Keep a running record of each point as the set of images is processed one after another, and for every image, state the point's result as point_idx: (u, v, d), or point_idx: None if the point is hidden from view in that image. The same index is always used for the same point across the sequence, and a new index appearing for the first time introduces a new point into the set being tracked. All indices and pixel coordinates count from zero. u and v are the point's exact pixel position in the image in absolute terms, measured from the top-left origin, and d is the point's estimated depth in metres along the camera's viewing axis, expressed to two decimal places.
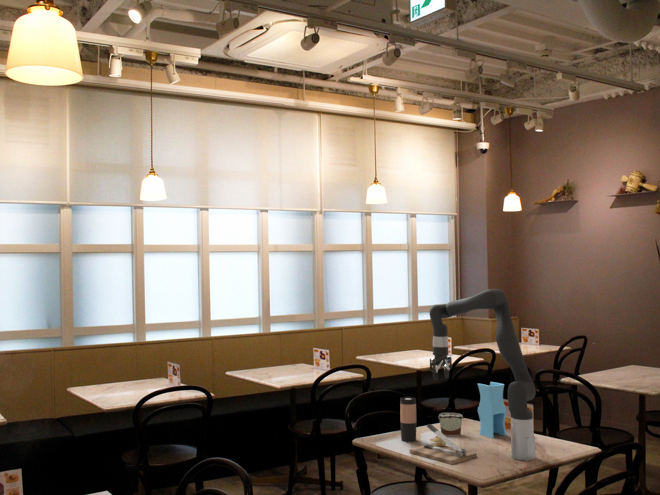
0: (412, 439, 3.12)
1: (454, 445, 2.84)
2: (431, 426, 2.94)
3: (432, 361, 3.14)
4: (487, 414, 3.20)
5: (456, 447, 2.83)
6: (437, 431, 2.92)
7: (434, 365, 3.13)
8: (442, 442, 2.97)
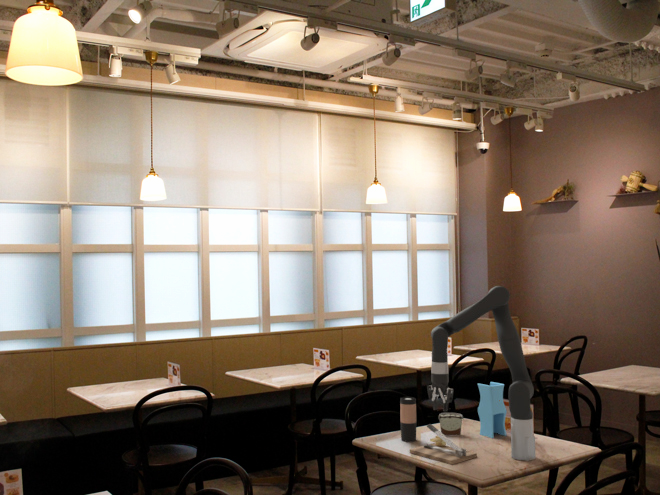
0: (412, 439, 3.12)
1: (454, 445, 2.84)
2: (431, 426, 2.94)
3: (452, 392, 2.86)
4: (487, 414, 3.20)
5: (456, 447, 2.83)
6: (437, 431, 2.92)
7: None
8: (442, 442, 2.97)
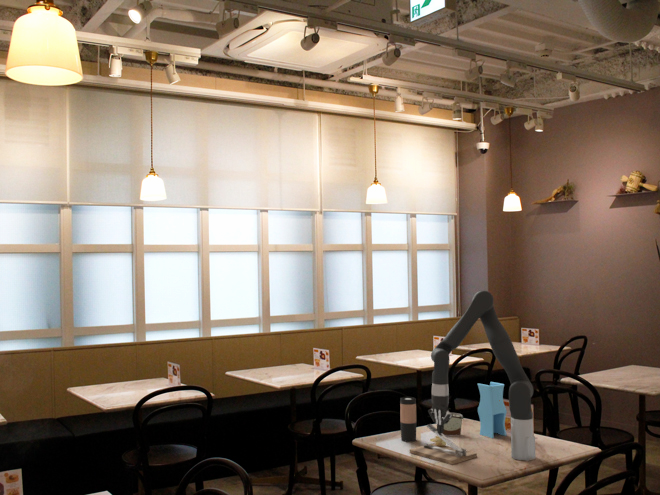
0: (412, 439, 3.12)
1: (454, 445, 2.84)
2: (431, 426, 2.94)
3: (450, 417, 2.87)
4: (487, 414, 3.21)
5: (456, 447, 2.83)
6: (437, 431, 2.92)
7: None
8: (442, 442, 2.97)
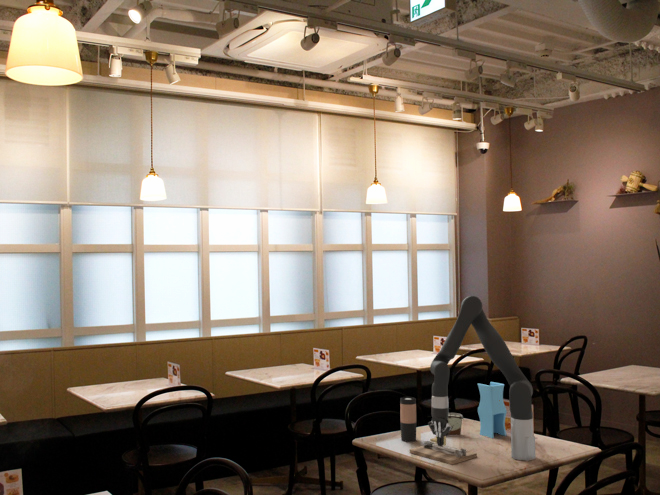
0: (412, 439, 3.12)
1: (453, 448, 2.85)
2: (428, 442, 2.96)
3: (450, 429, 2.86)
4: (487, 414, 3.20)
5: (455, 449, 2.84)
6: (434, 443, 2.93)
7: None
8: None
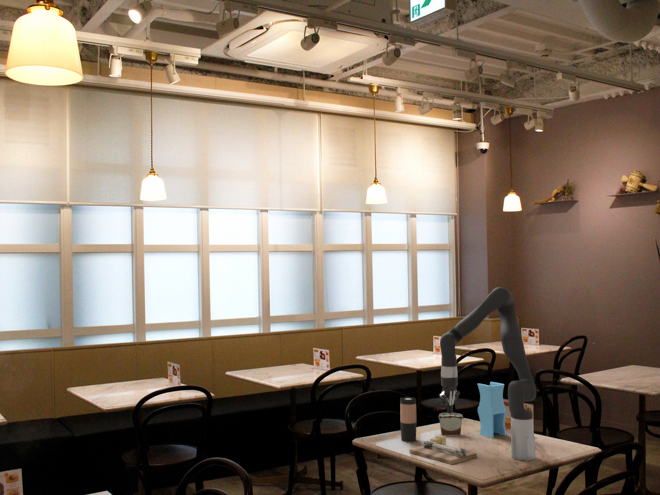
0: (412, 439, 3.12)
1: (453, 448, 2.85)
2: (428, 442, 2.96)
3: None
4: (487, 414, 3.21)
5: (455, 449, 2.84)
6: (434, 443, 2.93)
7: None
8: (442, 442, 2.97)
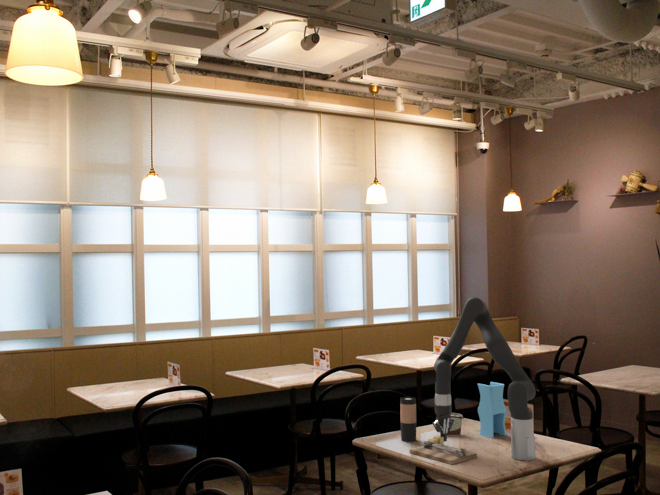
0: (412, 439, 3.12)
1: (453, 448, 2.85)
2: (428, 442, 2.96)
3: None
4: (487, 414, 3.20)
5: (455, 449, 2.84)
6: (434, 443, 2.93)
7: None
8: (440, 443, 2.96)
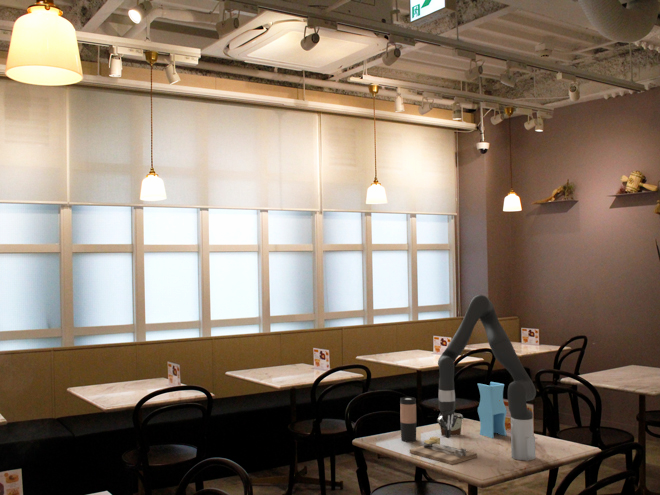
0: (412, 439, 3.12)
1: (453, 448, 2.85)
2: None
3: None
4: (487, 414, 3.20)
5: (455, 449, 2.84)
6: (434, 443, 2.93)
7: None
8: None
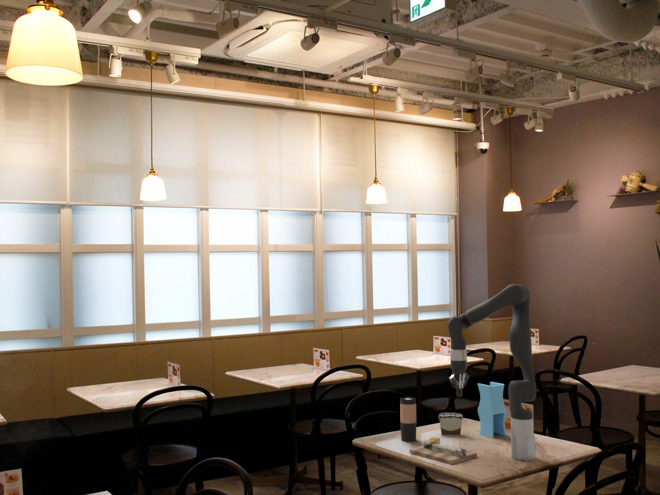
0: (412, 439, 3.12)
1: (453, 448, 2.85)
2: None
3: None
4: (487, 414, 3.20)
5: (455, 449, 2.84)
6: (434, 443, 2.93)
7: None
8: None
